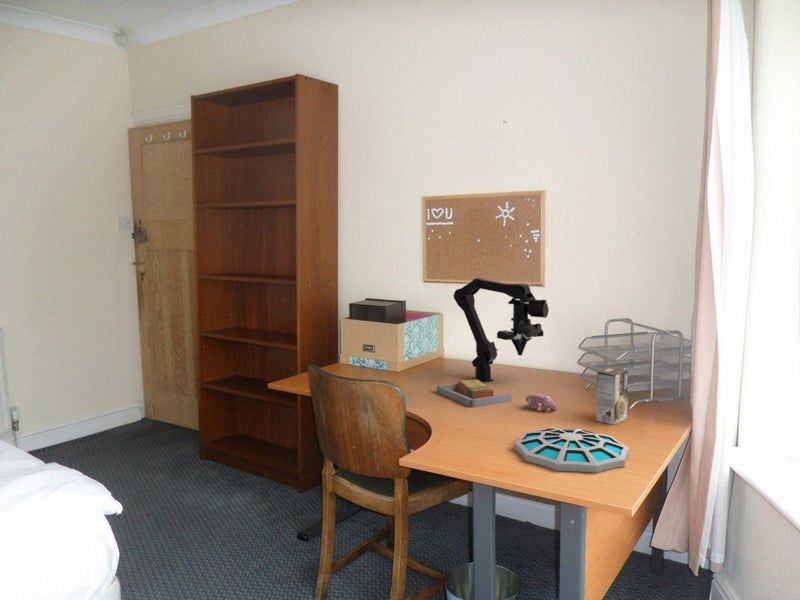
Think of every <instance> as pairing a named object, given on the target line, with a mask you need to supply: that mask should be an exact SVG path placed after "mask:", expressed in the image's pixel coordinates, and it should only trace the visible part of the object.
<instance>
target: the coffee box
mask: <svg viewBox="0 0 800 600" xmlns="http://www.w3.org/2000/svg"><path fill="white" fill-rule="evenodd" d="M596 378H597V382H596V386H597V387H596V421H597V422H601V423H604V422H605V424H610V425H613V426H614V425H616V424H618V423H621V422H622V421H625V420H627V419H628V400H629V399H628V396H629V395H628V392H629V370H628V369H623V368H618V367H614V366H613V367H612V366H609V367H607V368H604V369H602V370H598V371H597V377H596Z"/></svg>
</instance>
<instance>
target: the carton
mask: <svg viewBox="0 0 800 600" xmlns="http://www.w3.org/2000/svg"><path fill="white" fill-rule="evenodd" d="M457 383H458V390H457V391H459V392H460V393H461V392H462V393H463V394H462V393H461V394H462V395H464V396H467V397H469V398H471V399H477V398H484V397H490V396H494V389H493V388H492V387H489V386H488V385H487V384H485V383H484V382H480V381H479V380H473V379H464V380H458V381H457Z"/></svg>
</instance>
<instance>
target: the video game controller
mask: <svg viewBox="0 0 800 600" xmlns="http://www.w3.org/2000/svg"><path fill="white" fill-rule="evenodd" d="M525 402H526V403H527V404H528V405H529V406H530V407H532V408H533V409H534V410H538V409H539V408H540V409H541V410H542V411H543V412H546V411H547V410H548V409H550V410H551V411H554V412H555V411H557V409H558V406H557V404H556V402H555V401H554V400H553V399H552V398H551V397H550V396H549V395H545V394H542V393H540V392H539V393H537V392H536V393H533V392H531V393H530V394H528V395H527V396H526V397H525ZM540 404H541V405H540Z"/></svg>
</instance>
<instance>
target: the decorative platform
mask: <svg viewBox="0 0 800 600" xmlns="http://www.w3.org/2000/svg"><path fill="white" fill-rule="evenodd" d="M513 449H514V450H515V451H516V452H517V453H519V455H521V457H522V458H523V459H524V460H525V462H527V463H531V464H535V465H540V466H543V467H545V468H547V469H548V468H549V469H551V470H554V471H556V472H557V471H558V472H579V473H590V474H591V473H593V474H598V473H600V472H605V471H609V470H612V469H617V468H622V467H625V465H626V460H627V458H628V457H629V455H630V453H631V452H630V451H631V448H630V447H628V446H627V445H624V444H623V443H621V442H620V441H618V439H616V438H614V437H613V436H611V435H607V434H601V433H598V432H597V433H596V432H593V431H589V430H587V429H586V430H585V429H583V428H557V427H548V428H544V429H540V430H533V431H527V432H523V433H522V435H521V437H520V438H518V439H517V440H516V441H514V443H513Z"/></svg>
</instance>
